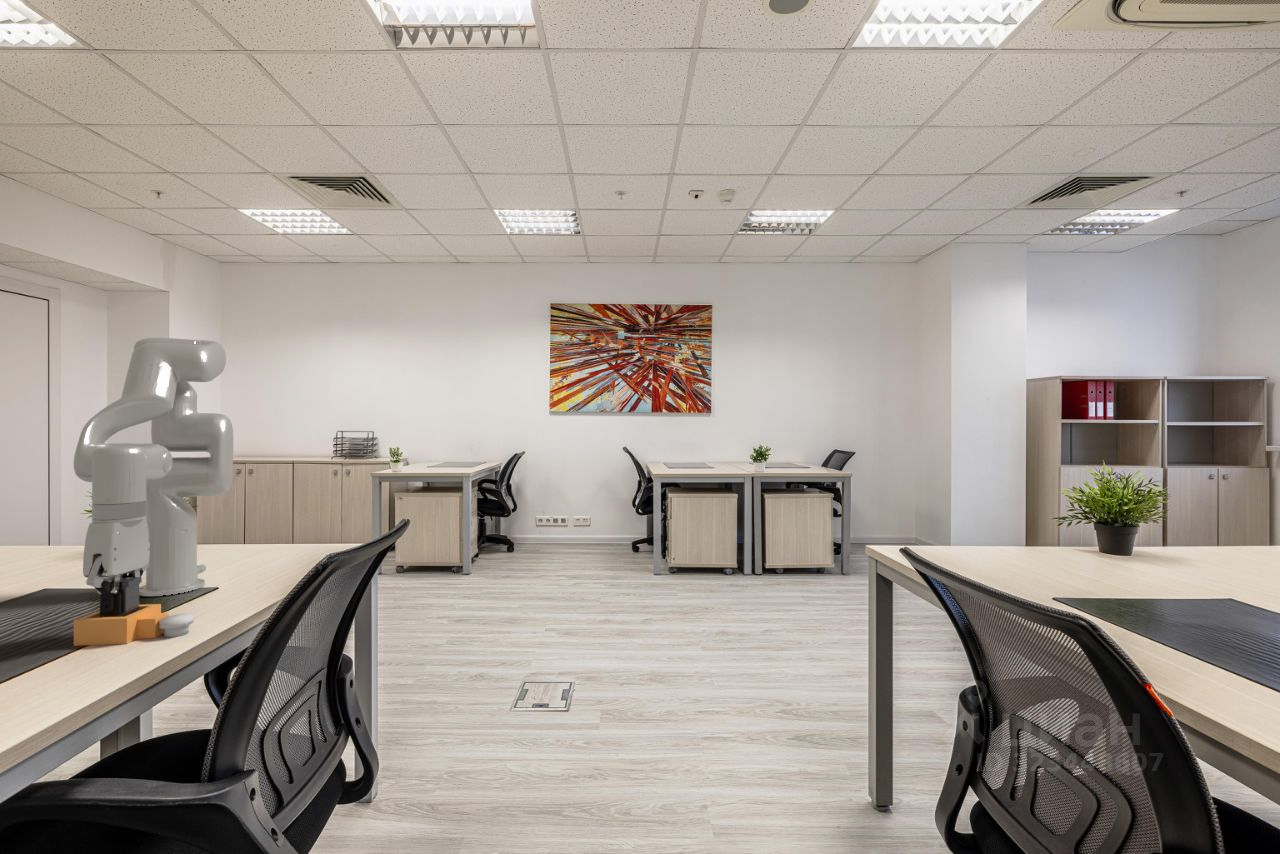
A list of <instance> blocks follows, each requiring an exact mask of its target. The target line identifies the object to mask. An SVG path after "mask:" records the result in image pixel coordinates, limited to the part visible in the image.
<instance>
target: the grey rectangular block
mask: <svg viewBox="0 0 1280 854" xmlns="http://www.w3.org/2000/svg"><path fill="white" fill-rule="evenodd" d="M142 578H143V577H142V576H141V577H124V578H120V583H119V591H118V592H122V612H121V614H118V615H101V614H100V617H125V616H127V615H130V614H132V613H135V612H137V611H139V605H140V595H139V587H140V585H139V583H140V584H141V583H142V581H143V580H142ZM107 581H109V582H110V583H111V582H112V579H107Z"/></svg>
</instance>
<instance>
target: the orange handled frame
mask: <svg viewBox="0 0 1280 854" xmlns="http://www.w3.org/2000/svg"><path fill="white" fill-rule="evenodd" d="M194 619H195V618H194V614H192V613H179V614H172V615H170V612H162V604H161V603H153V604H152V603H150V604H148V603H145V604H139V611H137V612H135V613H132V614H130V615H127V616H125V617H100V609H99V610H98V611H95V612H92V613H89V614H86V615H84V616H82V617H79V618H77V619H74V620H73V646H74V647H75V646H77V647H78V646H103V645H105V646H106V645H123V644H124V645H126V644H129V643H132V642H133V641H135V640H137V639H138V640H139V639H156V638H158V637H160V636H162V635H163V637H164V638H176V637H181V636H184V635H185V636H186V635H187V634H189V633H190V625H191V624H193V623H194Z"/></svg>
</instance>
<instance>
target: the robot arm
mask: <svg viewBox="0 0 1280 854" xmlns="http://www.w3.org/2000/svg"><path fill="white" fill-rule="evenodd" d="M226 364H227V354H226V350H225V348H224V347H223V345H222V344H220V343H219V342H218V341H215V340H204V339H185V338H184V339H183V338H171V337H149V338H142V339H140V340H138V341H136V342H135V344H134V346H133V352H132V354H131V357H130V362H129V365H128V370H127V373H126V377H125V382H124V385H123V387H122V388H123V389H122V393H121V397H119V399H117V400H115V401H114V402H112V403H110V404H108V405H107V406H105V407H104V408H103V409H101V410H99V411H98V412H97V413H96V414H95V415H93V416H92V417H91V418H90V419H89V420H88V421H87V422H86V423H85V425H84V426H83V428H82V429H81V431H80V435H79V436H78V437H79V439H78V441H77V445H76V449H75V452H74V456H73V457H74V458H73V471H74V473H75V475H76V477H78V479H80V480H82V481H84V482H87V483H91V522H89V524H88V527H87V530H86V531H87V532H86V535H85V541H84V548H83V560H82V561H83V562H82V575H83V576H84V578H86V582H85V584H86V585H87V586H90V587H92V588H94V589H96V592H97V594H98V595H99V610H100V614H101V615H118V614H121V612H122V592H118V591H119V583H120V578H124V577H142V576H143V574H144V572H145V585H141V586H140V584H141V583H139V597H162V596H163V595H166V596H172V595H171V594H173V595H178V593H180V594H184V592H185V593H188V591H189V592H192V590H193V591H195V590H200V589H201V588H203V587H204V586H205V585H206V584H205V579H203V578H198V575H199V574H201V573H203V572H205V571H206V570H207V566H206V565H205V564H199V565H198V564H197V563H198V558H197V557H198V555H197V553H198V549H197V548H198V515H197V513H196V510H195V509H194V508H193V506H192V505H191V504H190V503H189V502H188V501H187V500H186V499H185V498H191V497H194V498H195V497H213V496H222V495H225V494H227V493H229V491H230V490H231V488H232V485H233V478H234V477H233V476H234V475H233V474H234V428H233V424H232V422H231V420H230V418H229V417H228V416H227V415H224V414H223V413H222V414H221V413H213V412H211V413H209V412H208V413H206V412H204V413H200V412H198V410H197V409H198V405H197V404H198V394H197V392H196V389H195V388H194V387H193V386H192V385H191V384H190V383H191V382H192V383H207V382H211V381H213V380H215V379H216V378H217V377H219V376H220V375H221V374H222V373H223V371H224V370H225V367H226ZM147 422H151V423H150V424H151V426H150V427H151V428H150V429H151V431H150V435H151V443H148V442H147V443H132V442H131V443H129V442H124V443H122V442H121V443H120V442H119V443H106V442H107V441H108V439H110V438H111V437H112V436H113V435H115V434H117V433H118V432H121V431H123V430H126V429H128V428H130V427H135V426H137V425H140V424H144V423H147ZM190 452H191V453H199V452H200V453H202V452H204V453H208V454H209V455H210V456H207V457H206V456H204V457H203V456H201V457H200V456H197V457H193V456H191V457H190V456H189V457H188V456H186V457H182V456H181V457H180V456H179V457H173V456H172V453H190ZM107 579H112V582H111V583H110V582H109V581H107ZM163 597H164V596H163Z"/></svg>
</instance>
